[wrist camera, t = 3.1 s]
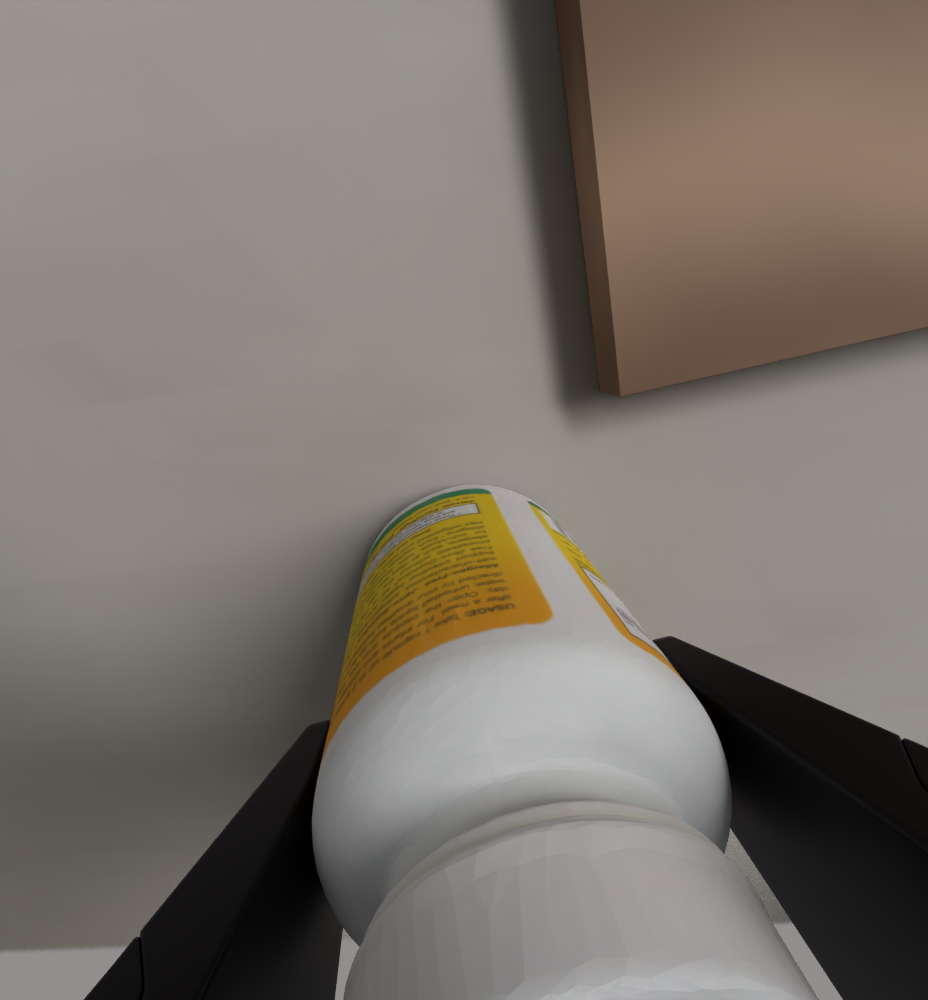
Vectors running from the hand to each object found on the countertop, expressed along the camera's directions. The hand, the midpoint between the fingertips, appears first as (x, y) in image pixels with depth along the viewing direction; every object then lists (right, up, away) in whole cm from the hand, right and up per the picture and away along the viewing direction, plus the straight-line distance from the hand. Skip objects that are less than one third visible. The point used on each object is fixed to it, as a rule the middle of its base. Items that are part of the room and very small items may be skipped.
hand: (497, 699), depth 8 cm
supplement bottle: (0, +1, +5) cm, 5 cm away
